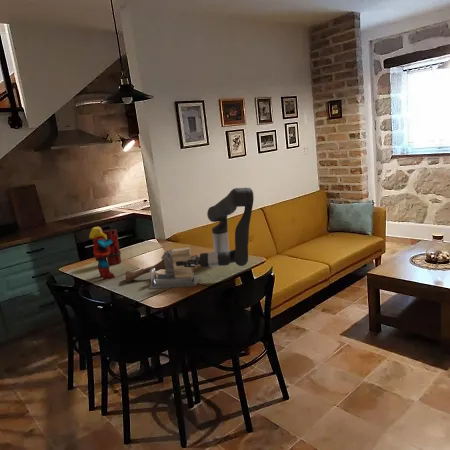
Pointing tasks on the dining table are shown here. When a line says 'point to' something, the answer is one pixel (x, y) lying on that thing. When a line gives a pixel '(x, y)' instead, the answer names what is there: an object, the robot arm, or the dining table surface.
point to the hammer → (164, 264)
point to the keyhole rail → (171, 280)
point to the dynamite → (113, 248)
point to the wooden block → (182, 255)
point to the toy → (102, 250)
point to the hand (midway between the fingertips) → (177, 262)
